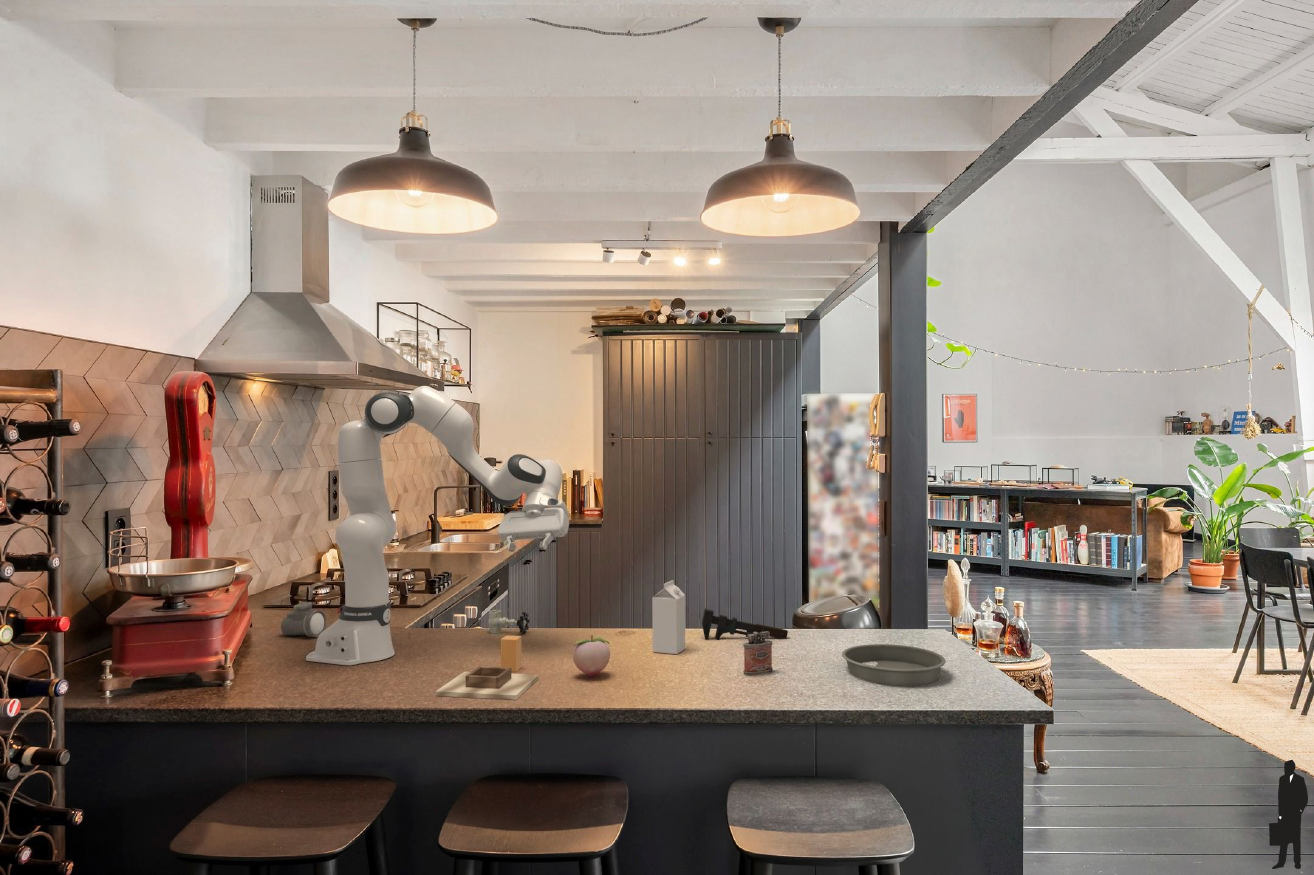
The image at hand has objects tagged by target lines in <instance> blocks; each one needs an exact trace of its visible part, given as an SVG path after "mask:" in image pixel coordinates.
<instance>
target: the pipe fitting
mask: <svg viewBox="0 0 1314 875" xmlns="http://www.w3.org/2000/svg"><path fill="white" fill-rule="evenodd" d="M312 608H313V602H311V601H306V602H301V603H297V604H296V605H293V610H292V611H289V612H287V614H286V616H285V617H284V618H283V619H282V620H281V623H280V631H281V633H282V634H283V635H284V636H287V637H290V636H302V635H304V636H305V635H306V636H307V637H309V638H318V636H319V635H320V634H321V633H322V632H323V631H324V630H326V629H327V628H328V627H327V626H328V620H327V616H326V613H325V612H324V611H323V610H321V609H315V610H314V609H312Z"/></svg>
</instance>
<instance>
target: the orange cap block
mask: <svg viewBox="0 0 1314 875" xmlns="http://www.w3.org/2000/svg"><path fill="white" fill-rule="evenodd" d="M500 667H502V668H511V673H513V672H514V673H516V672H518V671H519V670H521V668H522V635H505V636H504V637H502V638H501V639H500Z"/></svg>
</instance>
